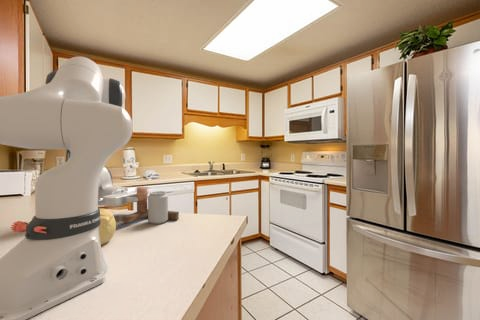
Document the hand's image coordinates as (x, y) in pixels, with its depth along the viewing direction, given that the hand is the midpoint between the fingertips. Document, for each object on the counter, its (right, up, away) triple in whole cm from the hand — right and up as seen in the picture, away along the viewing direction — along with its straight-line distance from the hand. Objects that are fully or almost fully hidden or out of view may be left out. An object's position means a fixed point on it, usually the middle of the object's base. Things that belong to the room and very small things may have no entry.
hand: (142, 198), depth 95 cm
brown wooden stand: (+5, -9, -4) cm, 11 cm away
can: (+7, -9, -3) cm, 12 cm away
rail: (-2, -9, -3) cm, 9 cm away
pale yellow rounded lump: (-4, -10, -25) cm, 27 cm away
